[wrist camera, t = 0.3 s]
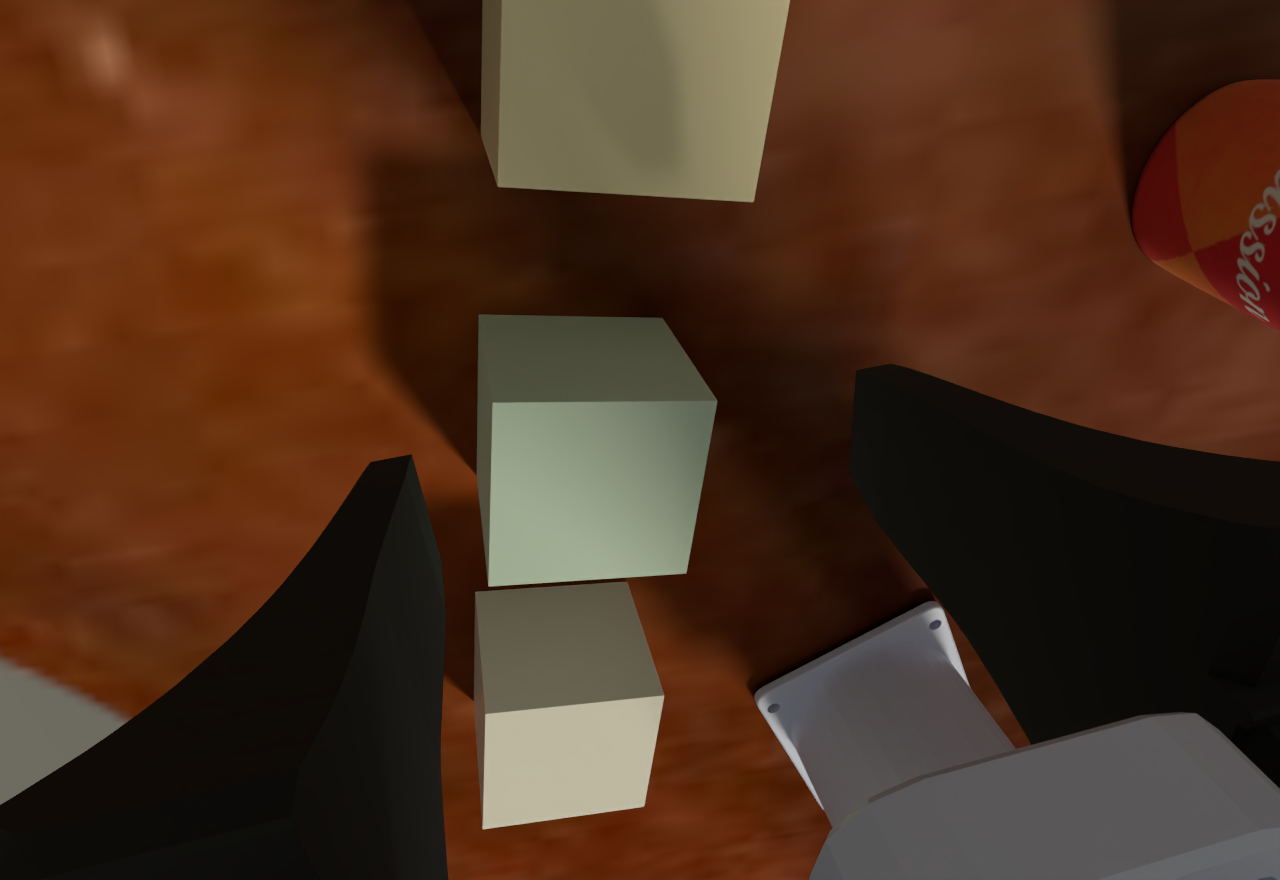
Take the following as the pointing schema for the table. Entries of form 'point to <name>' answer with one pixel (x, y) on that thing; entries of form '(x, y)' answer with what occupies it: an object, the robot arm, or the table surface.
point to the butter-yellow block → (630, 94)
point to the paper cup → (1218, 198)
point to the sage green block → (587, 448)
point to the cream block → (562, 702)
